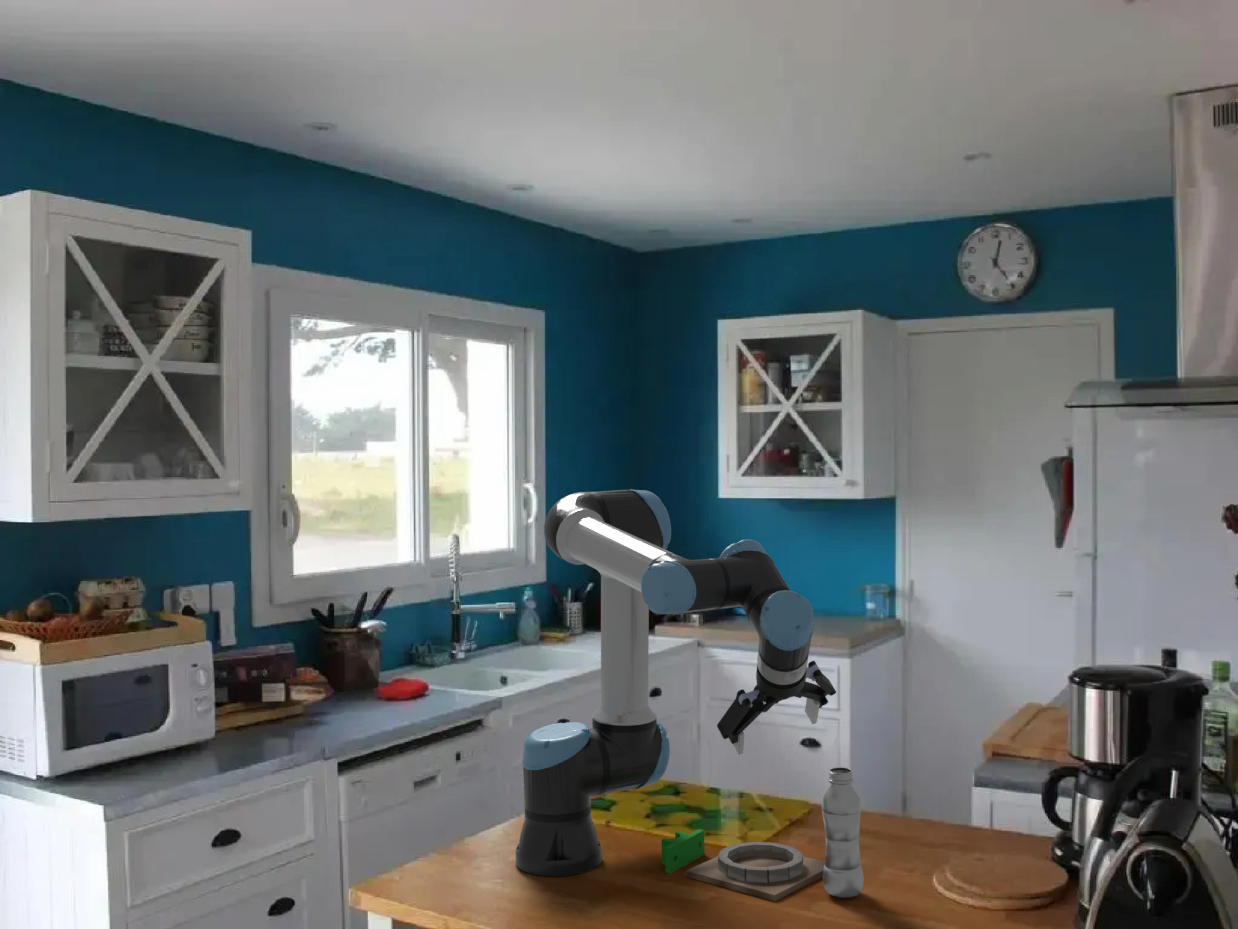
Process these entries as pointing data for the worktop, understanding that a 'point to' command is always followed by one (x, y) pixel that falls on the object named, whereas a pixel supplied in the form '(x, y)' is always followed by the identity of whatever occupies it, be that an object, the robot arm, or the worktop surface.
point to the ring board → (758, 887)
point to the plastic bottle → (842, 835)
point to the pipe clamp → (682, 850)
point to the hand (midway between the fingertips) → (774, 732)
